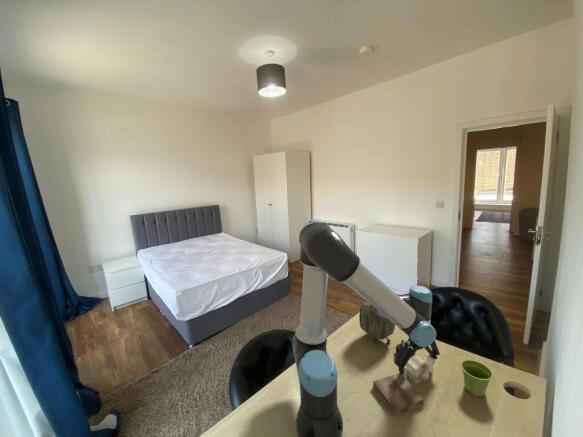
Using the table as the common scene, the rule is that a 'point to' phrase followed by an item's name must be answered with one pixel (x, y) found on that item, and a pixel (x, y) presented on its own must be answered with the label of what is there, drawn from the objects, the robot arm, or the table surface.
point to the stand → (398, 394)
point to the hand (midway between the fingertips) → (416, 375)
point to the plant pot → (476, 377)
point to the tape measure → (399, 348)
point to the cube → (417, 369)
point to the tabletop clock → (375, 322)
